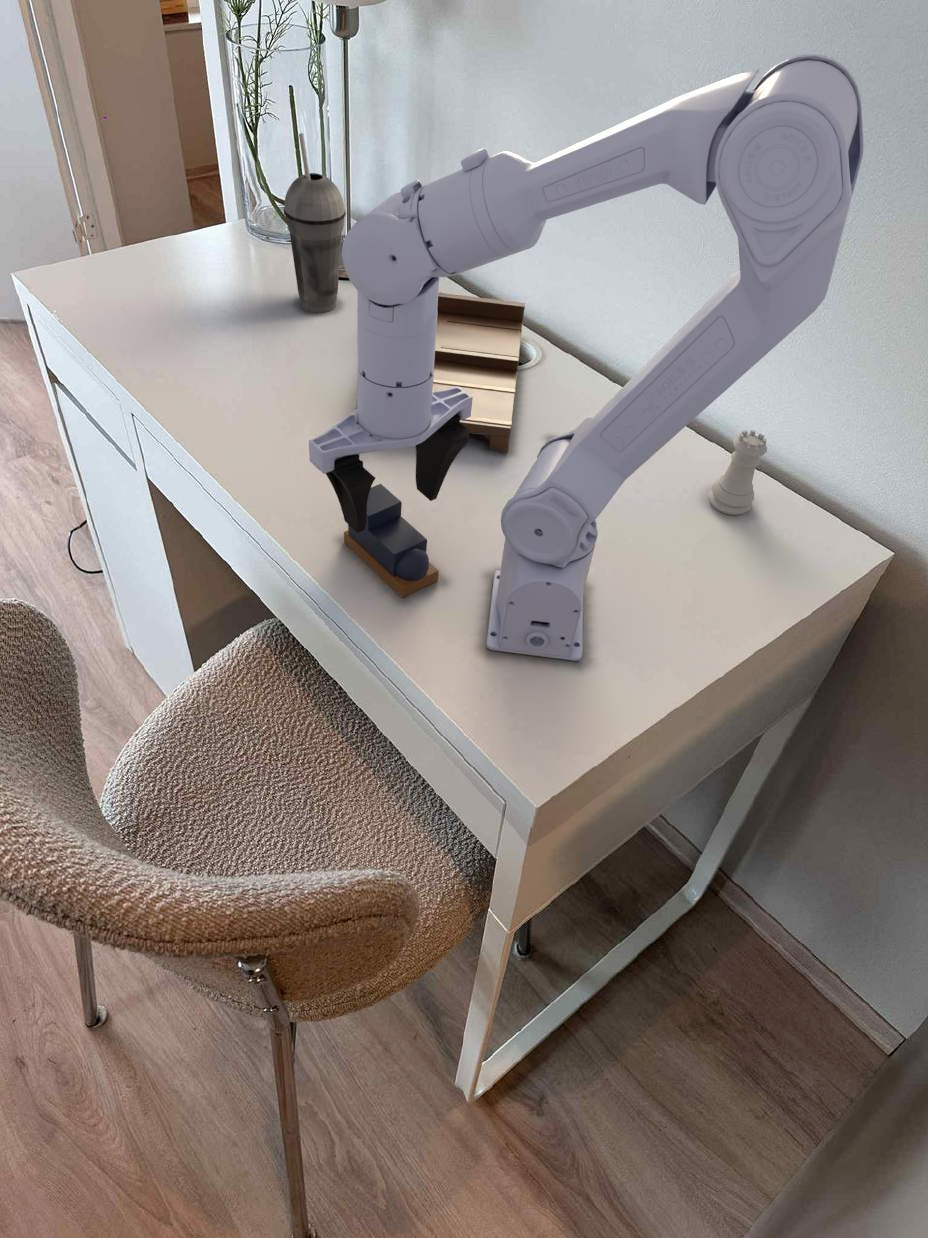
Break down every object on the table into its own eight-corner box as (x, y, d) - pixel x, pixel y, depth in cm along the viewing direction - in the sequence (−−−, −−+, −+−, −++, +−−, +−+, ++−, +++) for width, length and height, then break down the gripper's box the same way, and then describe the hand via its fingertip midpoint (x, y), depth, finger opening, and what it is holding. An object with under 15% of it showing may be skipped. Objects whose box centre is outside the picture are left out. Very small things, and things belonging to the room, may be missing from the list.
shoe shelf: (507, 452, 93) (513, 411, 90) (357, 433, 94) (357, 392, 90) (520, 340, 110) (525, 302, 107) (392, 325, 110) (393, 286, 107)
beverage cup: (354, 314, 111) (352, 143, 97) (297, 320, 109) (287, 146, 95) (338, 288, 116) (334, 120, 102) (283, 293, 114) (271, 123, 99)
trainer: (438, 581, 79) (442, 535, 75) (402, 599, 77) (404, 552, 73) (379, 526, 84) (379, 480, 80) (343, 541, 82) (342, 495, 78)
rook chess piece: (698, 493, 91) (721, 427, 85) (735, 486, 92) (759, 421, 87) (722, 520, 88) (746, 454, 83) (759, 513, 90) (786, 447, 84)
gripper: (439, 320, 72) (429, 458, 82) (283, 369, 65) (293, 513, 75) (495, 359, 68) (478, 498, 78) (337, 415, 61) (340, 560, 71)
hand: (391, 509), depth 76 cm, fingers open, 7 cm apart
